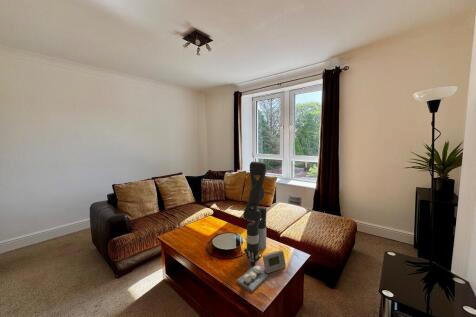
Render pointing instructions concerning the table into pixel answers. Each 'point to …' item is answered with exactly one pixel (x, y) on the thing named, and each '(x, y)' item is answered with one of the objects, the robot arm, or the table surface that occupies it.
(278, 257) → the digital clock
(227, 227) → the table surface
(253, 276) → the button
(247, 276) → the button
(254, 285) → the button board
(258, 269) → the button
